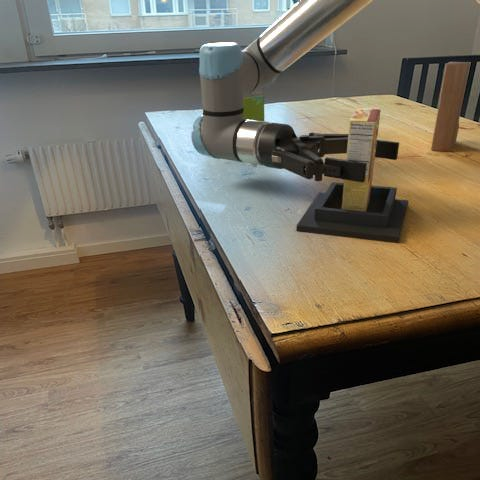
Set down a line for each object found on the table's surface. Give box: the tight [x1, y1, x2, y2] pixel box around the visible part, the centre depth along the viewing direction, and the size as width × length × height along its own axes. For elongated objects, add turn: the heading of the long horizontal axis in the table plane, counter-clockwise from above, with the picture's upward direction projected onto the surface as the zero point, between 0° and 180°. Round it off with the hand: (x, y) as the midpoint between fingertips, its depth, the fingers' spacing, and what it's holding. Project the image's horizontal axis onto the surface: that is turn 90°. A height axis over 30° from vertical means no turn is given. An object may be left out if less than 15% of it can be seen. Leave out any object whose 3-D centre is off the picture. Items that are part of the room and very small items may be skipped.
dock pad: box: [295, 181, 409, 244], centre depth 84 cm, size 16×16×3 cm
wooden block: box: [430, 61, 471, 153], centre depth 113 cm, size 9×4×18 cm, turn 154°
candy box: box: [341, 107, 381, 212], centre depth 81 cm, size 9×4×15 cm, turn 163°
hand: (382, 161), depth 79 cm, fingers open, 12 cm apart
